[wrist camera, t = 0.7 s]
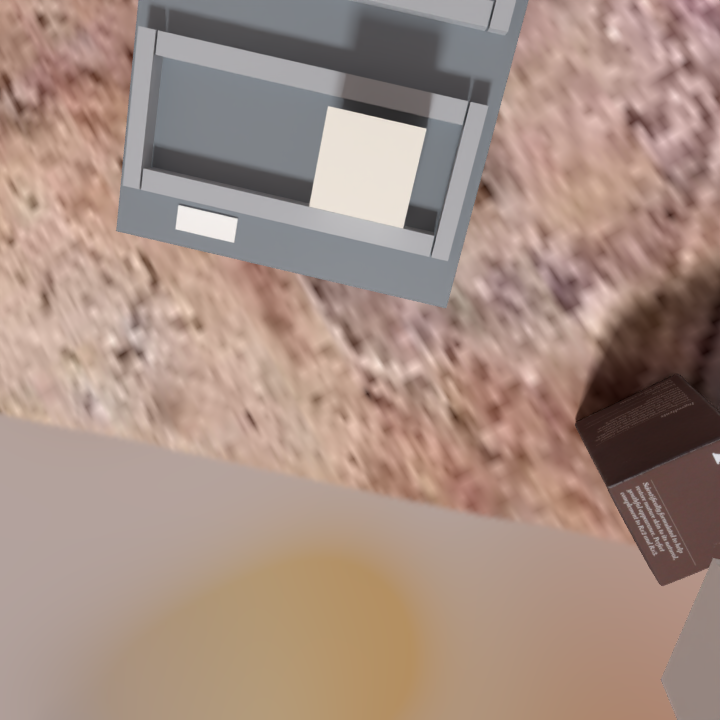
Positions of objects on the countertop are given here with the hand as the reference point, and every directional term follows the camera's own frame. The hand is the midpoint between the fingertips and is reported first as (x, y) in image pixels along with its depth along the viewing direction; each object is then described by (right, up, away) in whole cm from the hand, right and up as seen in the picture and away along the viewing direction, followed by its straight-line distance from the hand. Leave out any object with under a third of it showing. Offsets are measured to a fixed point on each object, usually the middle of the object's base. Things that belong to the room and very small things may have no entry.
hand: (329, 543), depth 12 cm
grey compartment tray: (-1, +18, +20) cm, 27 cm away
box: (+16, -1, +25) cm, 30 cm away
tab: (+1, +12, +20) cm, 23 cm away
